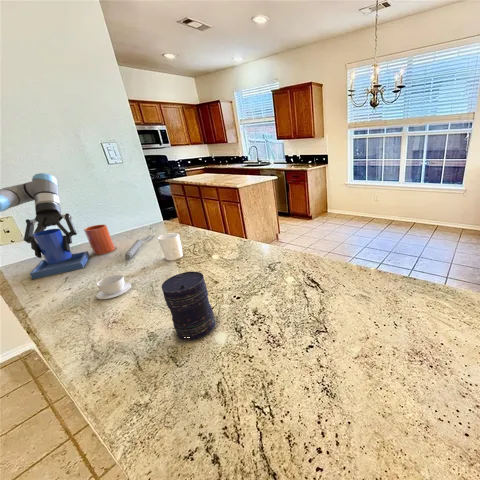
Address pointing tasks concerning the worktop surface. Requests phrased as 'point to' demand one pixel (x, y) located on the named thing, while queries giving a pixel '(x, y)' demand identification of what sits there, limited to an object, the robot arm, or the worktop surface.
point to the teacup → (112, 287)
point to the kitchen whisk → (135, 246)
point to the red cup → (99, 239)
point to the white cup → (171, 246)
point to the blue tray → (60, 265)
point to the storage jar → (189, 305)
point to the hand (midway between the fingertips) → (53, 253)
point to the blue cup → (52, 245)
